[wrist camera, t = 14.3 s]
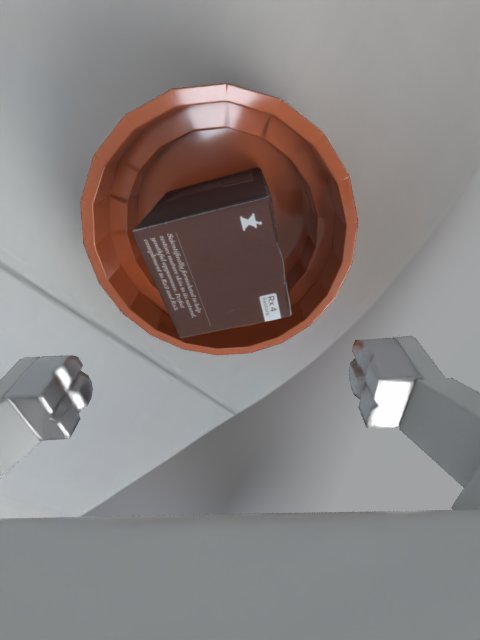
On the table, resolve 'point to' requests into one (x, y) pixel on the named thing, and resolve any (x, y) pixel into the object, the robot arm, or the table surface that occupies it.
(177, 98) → the clay bowl
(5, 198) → the table surface
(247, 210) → the box
